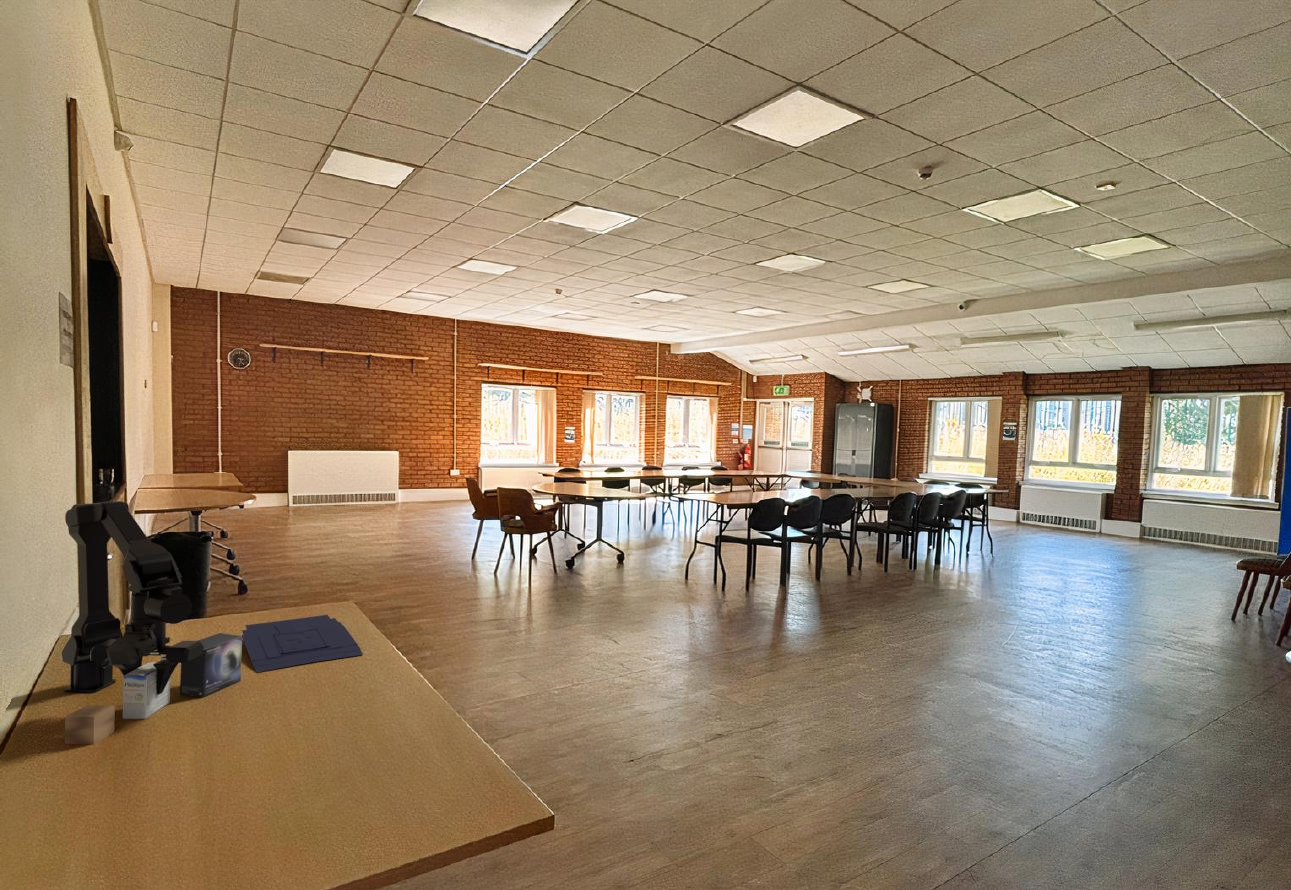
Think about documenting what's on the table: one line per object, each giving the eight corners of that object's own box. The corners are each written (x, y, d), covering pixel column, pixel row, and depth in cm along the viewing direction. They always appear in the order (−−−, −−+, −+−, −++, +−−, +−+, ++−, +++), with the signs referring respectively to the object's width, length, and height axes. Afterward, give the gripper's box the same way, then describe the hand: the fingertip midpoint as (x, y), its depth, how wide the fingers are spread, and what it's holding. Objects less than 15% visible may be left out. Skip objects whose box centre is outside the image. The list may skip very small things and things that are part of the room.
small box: (204, 698, 145) (205, 648, 145) (177, 695, 146) (178, 645, 146) (242, 681, 155) (243, 634, 155) (218, 678, 157) (219, 632, 157)
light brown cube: (64, 744, 123) (65, 716, 123) (86, 732, 128) (87, 705, 128) (93, 744, 123) (94, 716, 123) (114, 732, 128) (114, 705, 128)
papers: (334, 622, 199) (334, 610, 199) (363, 664, 176) (364, 651, 175) (236, 636, 184) (237, 623, 184) (255, 683, 161) (255, 668, 160)
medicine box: (147, 703, 141) (148, 661, 141) (170, 703, 142) (171, 661, 142) (121, 719, 134) (122, 675, 133) (146, 719, 134) (146, 675, 134)
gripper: (68, 625, 129) (66, 708, 129) (170, 628, 130) (168, 710, 130) (112, 610, 140) (110, 687, 140) (205, 612, 141) (204, 688, 141)
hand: (147, 693), depth 138 cm, fingers open, 5 cm apart
